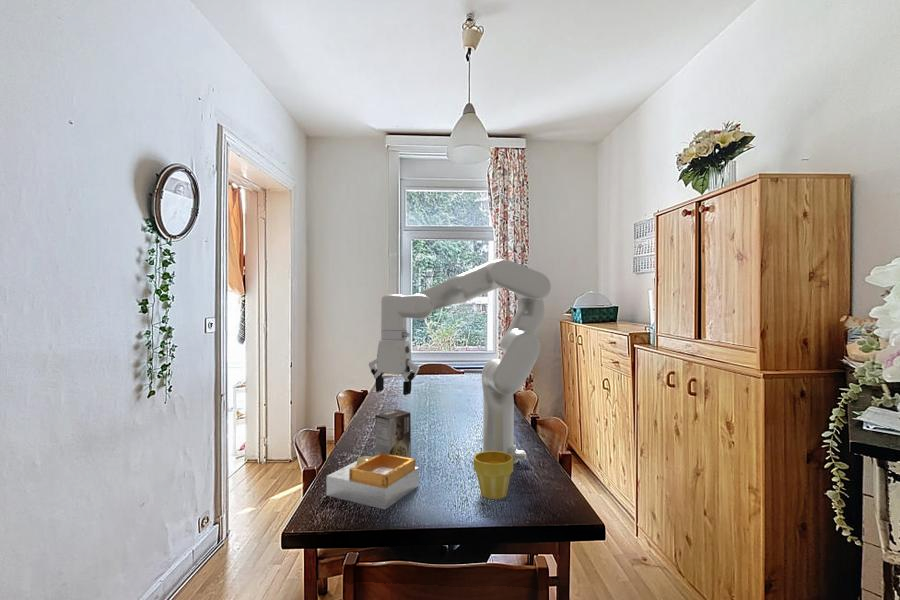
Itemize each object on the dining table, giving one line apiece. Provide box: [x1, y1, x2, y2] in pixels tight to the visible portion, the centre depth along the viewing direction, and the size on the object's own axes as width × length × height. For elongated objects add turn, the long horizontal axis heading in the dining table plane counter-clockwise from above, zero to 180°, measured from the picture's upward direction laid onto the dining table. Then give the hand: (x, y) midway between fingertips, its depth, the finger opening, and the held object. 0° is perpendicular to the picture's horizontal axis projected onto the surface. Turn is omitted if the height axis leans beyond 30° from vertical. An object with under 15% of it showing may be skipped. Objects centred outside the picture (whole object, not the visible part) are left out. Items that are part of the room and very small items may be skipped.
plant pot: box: [473, 451, 514, 500], centre depth 123 cm, size 10×10×10 cm
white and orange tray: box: [326, 453, 420, 510], centre depth 125 cm, size 18×16×8 cm
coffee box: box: [375, 408, 412, 458], centre depth 142 cm, size 9×6×16 cm
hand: (393, 392), depth 142 cm, fingers open, 9 cm apart
